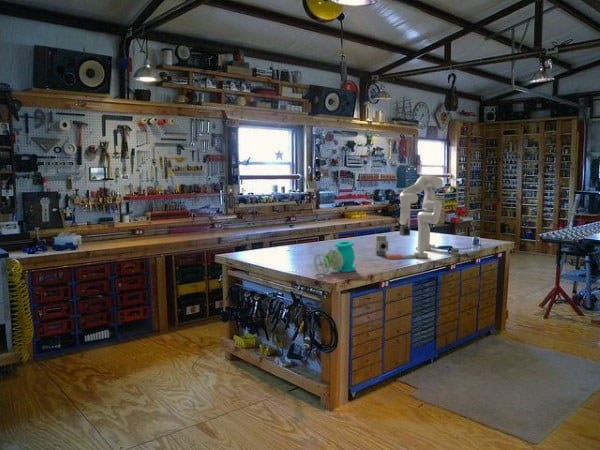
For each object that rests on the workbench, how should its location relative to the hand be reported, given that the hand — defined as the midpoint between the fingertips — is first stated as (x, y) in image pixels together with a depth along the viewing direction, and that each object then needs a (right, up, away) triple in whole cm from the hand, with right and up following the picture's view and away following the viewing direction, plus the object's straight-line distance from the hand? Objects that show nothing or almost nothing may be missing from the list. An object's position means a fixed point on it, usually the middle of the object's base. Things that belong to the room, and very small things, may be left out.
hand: (404, 233), depth 388 cm
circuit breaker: (-19, -17, +1) cm, 25 cm away
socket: (0, -2, 0) cm, 2 cm away
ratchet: (-1, -19, -12) cm, 22 cm away
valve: (-58, -25, -62) cm, 89 cm away
